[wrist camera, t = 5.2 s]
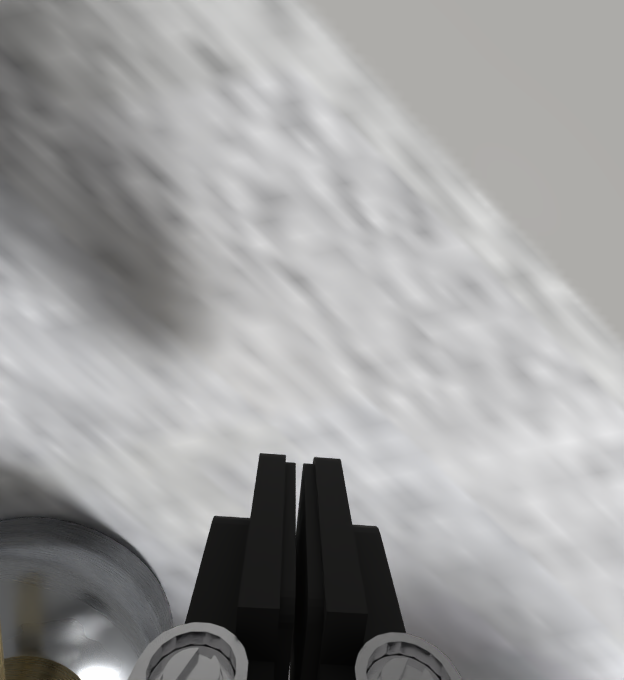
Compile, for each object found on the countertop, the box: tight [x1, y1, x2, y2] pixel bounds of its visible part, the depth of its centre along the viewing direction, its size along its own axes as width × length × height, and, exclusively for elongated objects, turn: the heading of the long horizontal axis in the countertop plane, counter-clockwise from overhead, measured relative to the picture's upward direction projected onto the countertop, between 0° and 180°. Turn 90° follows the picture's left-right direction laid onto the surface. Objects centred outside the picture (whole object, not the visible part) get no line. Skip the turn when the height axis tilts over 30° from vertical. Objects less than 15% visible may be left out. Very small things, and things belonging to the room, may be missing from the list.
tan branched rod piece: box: [0, 518, 173, 680], centre depth 11 cm, size 22×19×7 cm
